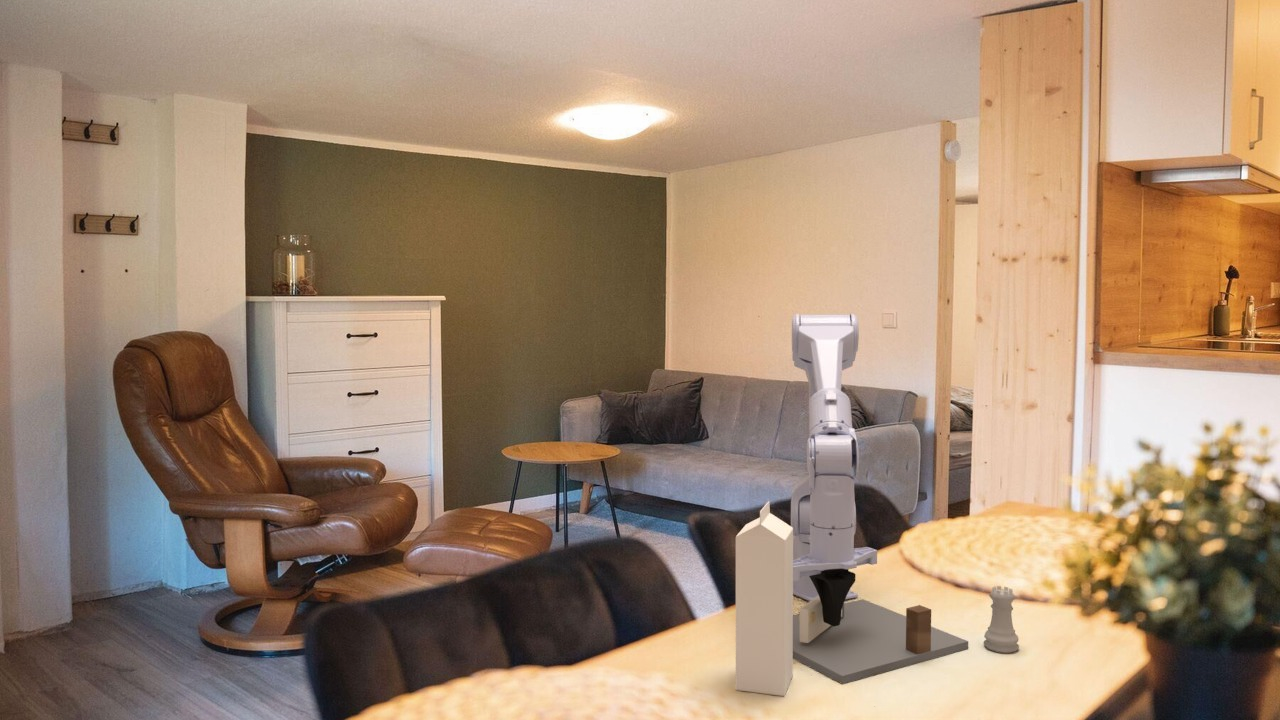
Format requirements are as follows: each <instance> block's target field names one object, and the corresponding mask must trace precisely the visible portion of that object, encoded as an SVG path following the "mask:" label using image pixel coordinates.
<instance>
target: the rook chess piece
mask: <svg viewBox="0 0 1280 720" xmlns="http://www.w3.org/2000/svg"><path fill="white" fill-rule="evenodd" d="M988 596H989V598H990V599H991V600H992V604H991V605H990V607H991V610H992V611H991V612H992V613H991V618H990V619H991V621H990V624H989V626H988V627H987V630H986V631H985V632H984V636H983V637H984V638H985V640H984V641H983V644H984V647H985V648H986V649H987V650H990V651H991V652H995V653H1000V654H1013V653H1015V652H1016V651H1017V650H1018V649H1020V648H1019V647H1020V645H1019V644H1018V642H1019V635H1017V634H1016V629H1014V626H1013V618H1012V617H1013V616H1012V611H1013V610H1014V607H1013V606H1012V603H1013V601H1015V599H1016V596H1015V594H1014V593H1013V589H1012V588H1009V587H1007V586H1004V588H1003V589H1002V586H1001V585H997V586H993V587H992V589H991V592H990V593H989V595H988Z"/></svg>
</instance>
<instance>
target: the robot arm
mask: <svg viewBox="0 0 1280 720" xmlns="http://www.w3.org/2000/svg"><path fill="white" fill-rule="evenodd" d="M859 330H860V328H859V318H858V316H857V315H856V314H855V313H849V314H800V313H795V314H794V315H793V316H792V318H791V353H792V355H791V356H792V359H791V360H792V362H793V364H794V365H793V366H794V367H795V368H798V369H800V370H803V371H804V372H805V375H806V378H807V382H808V399H809V400H808V425H809V426H808V438H807V441H806V442H807V443H806V468H807V469H806V470H807V474H808V475H806V476H805V477H804V478H802V479H801V480H800V481H798V482H796V483H795V484H794V485H793V488H792V489H791V499H790V526H791V527H792V528H793V596H797V597H799V598H801V599H803V600H806V601H808V602H809V601H811V600H812V599H814V598H815V597H817V596H818V595H819V598H820V601H821V604H822V614H823V620H824V622H825V623H827V624H829V625H831V626H838V625H840V621H841V610H842V607H843V604H844V603H845V600H849V599H855V598H858V597H859V594H858V593H857V592H855V591H851V589H852V586H853V585H854V584H855V582H856V573H854V572H853V571H851V569H852V570H853V569H857V568H858V567H859V566H863V565H872V566H873V565H877V564H878V550H877V549H874V548H872V547H868V546H865V547H854V546H855V544H854V543H855V535H856V531H857V530H856V529H857V508H856V501H855V500H856V499H855V497H856V495H855V479H854V478H857V476H858V472H859V465H860V464H859V463H860V458H859V457H860V455H859V454H860V453H859V452H860V451H859V443H858V439H857V438H858V437H857V435H856V430H855V428H853V418H852V406H851V404H852V403H851V400H850V399H851V398H850V397H849V396H848V394H846V393H845V392H844V391H842V375H843V374H842V371H844V370H846V369H849V368H851V367H853V365H854V362H855V361H856V356H857V352H858V351H859V339H860V338H859V336H860V335H859ZM852 469H853V474H854V475H852ZM853 476H854V477H853ZM808 495H810V496H808Z"/></svg>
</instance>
